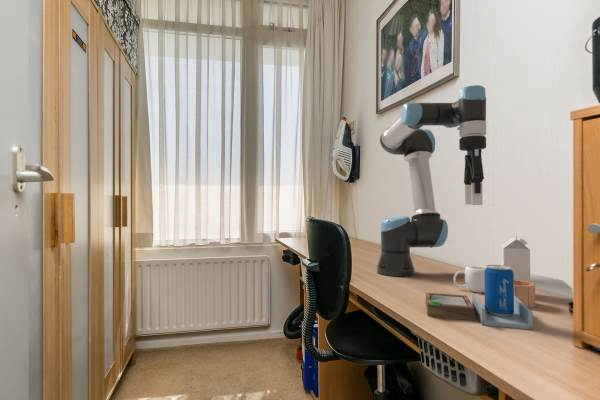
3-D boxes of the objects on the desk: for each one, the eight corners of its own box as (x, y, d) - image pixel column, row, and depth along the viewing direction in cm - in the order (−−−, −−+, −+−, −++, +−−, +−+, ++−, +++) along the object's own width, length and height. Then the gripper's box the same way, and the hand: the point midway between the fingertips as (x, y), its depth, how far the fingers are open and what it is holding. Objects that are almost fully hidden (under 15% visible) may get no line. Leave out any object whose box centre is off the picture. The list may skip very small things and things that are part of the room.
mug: (490, 288, 116) (490, 265, 116) (496, 295, 108) (496, 270, 108) (451, 286, 119) (451, 264, 119) (455, 292, 111) (455, 268, 111)
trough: (472, 307, 95) (472, 293, 96) (515, 311, 92) (515, 296, 92) (481, 324, 82) (481, 308, 82) (532, 329, 79) (532, 312, 79)
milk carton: (503, 295, 107) (503, 235, 107) (501, 290, 113) (500, 233, 114) (530, 298, 104) (530, 236, 104) (526, 292, 110) (526, 234, 110)
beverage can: (489, 317, 85) (489, 268, 85) (481, 308, 91) (480, 264, 91) (518, 318, 83) (518, 269, 83) (508, 310, 90) (507, 264, 90)
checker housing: (425, 302, 100) (425, 289, 100) (466, 306, 97) (466, 292, 97) (427, 316, 89) (427, 301, 89) (474, 320, 85) (474, 305, 85)
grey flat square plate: (430, 298, 98) (430, 294, 98) (462, 300, 96) (462, 297, 96) (432, 306, 90) (432, 303, 90) (467, 309, 88) (467, 305, 88)
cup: (500, 298, 104) (500, 279, 104) (529, 301, 101) (529, 280, 101) (506, 306, 96) (506, 285, 97) (538, 308, 94) (537, 286, 94)
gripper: (454, 143, 119) (455, 204, 119) (465, 129, 96) (465, 205, 96) (478, 142, 117) (479, 204, 117) (495, 127, 93) (496, 205, 93)
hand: (473, 204), depth 106 cm, fingers open, 13 cm apart
